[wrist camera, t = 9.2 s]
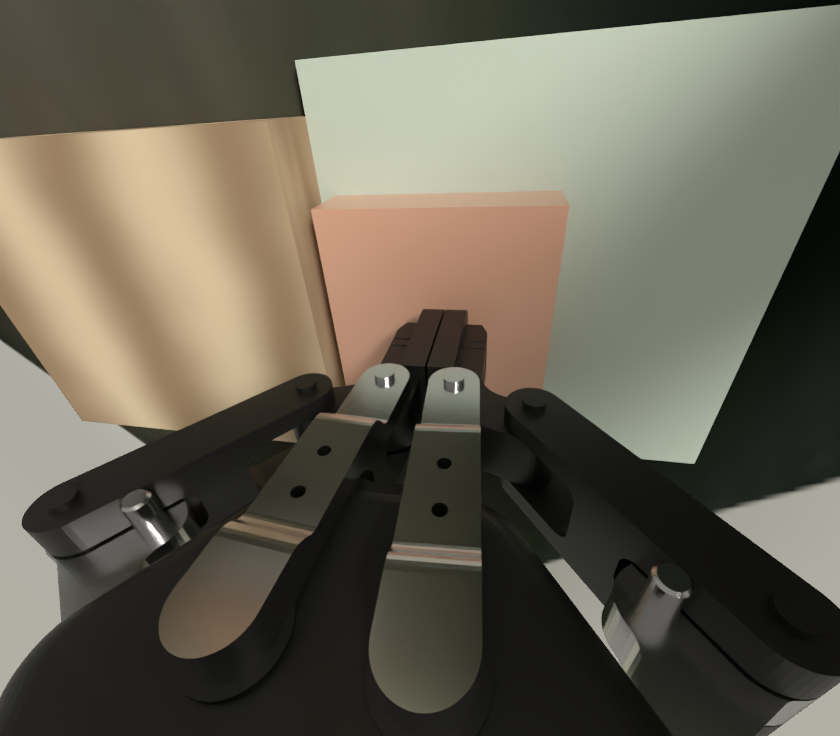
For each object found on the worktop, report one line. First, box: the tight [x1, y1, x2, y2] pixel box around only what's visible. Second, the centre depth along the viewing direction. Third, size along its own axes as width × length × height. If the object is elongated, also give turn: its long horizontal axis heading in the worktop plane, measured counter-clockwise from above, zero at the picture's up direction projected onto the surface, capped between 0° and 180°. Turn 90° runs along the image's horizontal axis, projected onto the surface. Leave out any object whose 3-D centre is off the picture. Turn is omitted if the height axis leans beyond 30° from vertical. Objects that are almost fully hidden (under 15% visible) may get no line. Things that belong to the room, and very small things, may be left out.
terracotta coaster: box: [311, 191, 569, 397], centre depth 15 cm, size 8×8×2 cm
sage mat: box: [295, 5, 840, 464], centre depth 16 cm, size 16×16×1 cm
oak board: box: [0, 116, 346, 443], centre depth 18 cm, size 15×13×3 cm
